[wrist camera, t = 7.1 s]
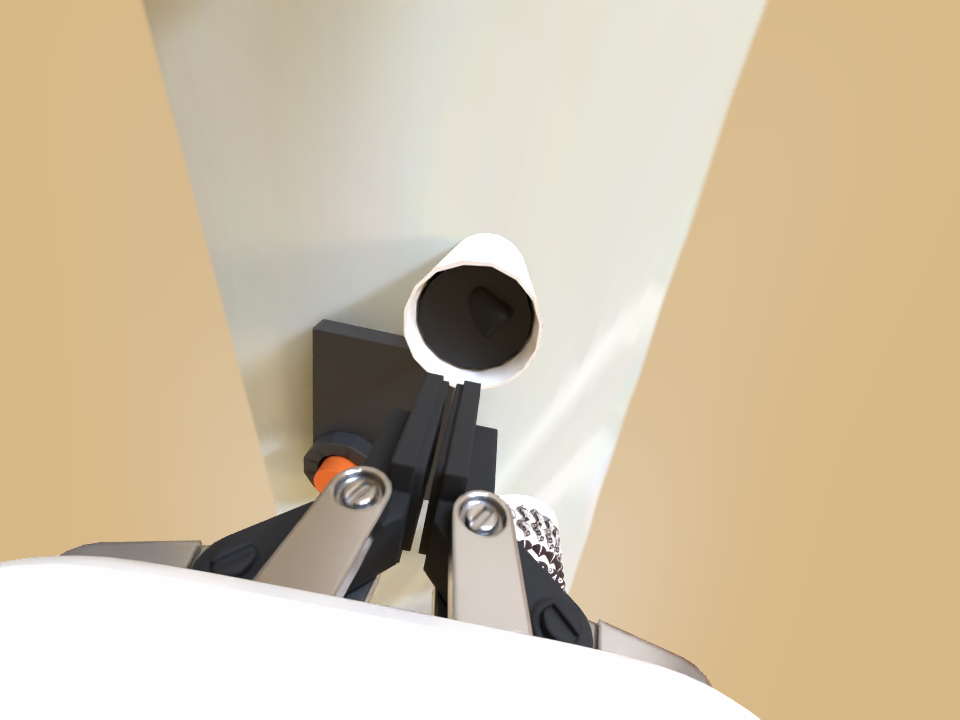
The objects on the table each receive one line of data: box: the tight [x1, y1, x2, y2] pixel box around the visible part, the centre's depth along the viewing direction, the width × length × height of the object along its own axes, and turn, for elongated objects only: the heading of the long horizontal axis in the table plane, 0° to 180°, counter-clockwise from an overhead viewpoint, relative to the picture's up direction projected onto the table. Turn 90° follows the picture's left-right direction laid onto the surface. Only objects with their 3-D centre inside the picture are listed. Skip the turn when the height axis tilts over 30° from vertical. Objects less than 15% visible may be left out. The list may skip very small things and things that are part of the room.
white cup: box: [404, 233, 543, 390], centre depth 23 cm, size 7×7×10 cm
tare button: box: [314, 455, 357, 493], centre depth 32 cm, size 3×3×2 cm
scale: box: [304, 319, 455, 501], centre depth 32 cm, size 15×11×4 cm
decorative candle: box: [499, 494, 566, 592], centre depth 27 cm, size 9×9×25 cm
